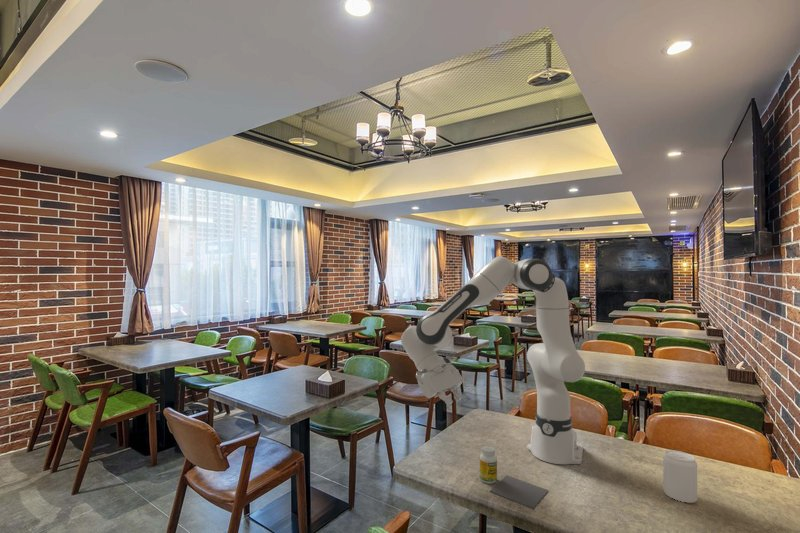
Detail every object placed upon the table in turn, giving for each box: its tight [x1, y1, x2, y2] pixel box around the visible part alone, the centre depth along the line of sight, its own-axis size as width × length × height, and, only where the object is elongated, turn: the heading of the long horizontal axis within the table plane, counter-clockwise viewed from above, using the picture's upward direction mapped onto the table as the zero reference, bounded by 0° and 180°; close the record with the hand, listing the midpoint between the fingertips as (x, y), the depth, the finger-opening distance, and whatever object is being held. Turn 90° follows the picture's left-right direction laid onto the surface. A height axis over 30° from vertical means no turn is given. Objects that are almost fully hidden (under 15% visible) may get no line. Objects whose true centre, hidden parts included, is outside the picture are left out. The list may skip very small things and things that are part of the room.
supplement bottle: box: [479, 445, 498, 485], centre depth 121 cm, size 5×5×10 cm
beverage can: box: [662, 449, 698, 504], centre depth 114 cm, size 8×8×12 cm
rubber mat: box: [489, 474, 549, 510], centre depth 114 cm, size 12×13×1 cm
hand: (455, 401), depth 129 cm, fingers open, 4 cm apart
